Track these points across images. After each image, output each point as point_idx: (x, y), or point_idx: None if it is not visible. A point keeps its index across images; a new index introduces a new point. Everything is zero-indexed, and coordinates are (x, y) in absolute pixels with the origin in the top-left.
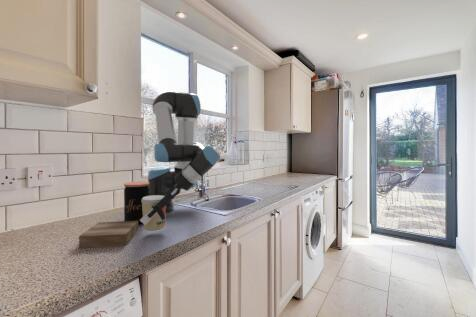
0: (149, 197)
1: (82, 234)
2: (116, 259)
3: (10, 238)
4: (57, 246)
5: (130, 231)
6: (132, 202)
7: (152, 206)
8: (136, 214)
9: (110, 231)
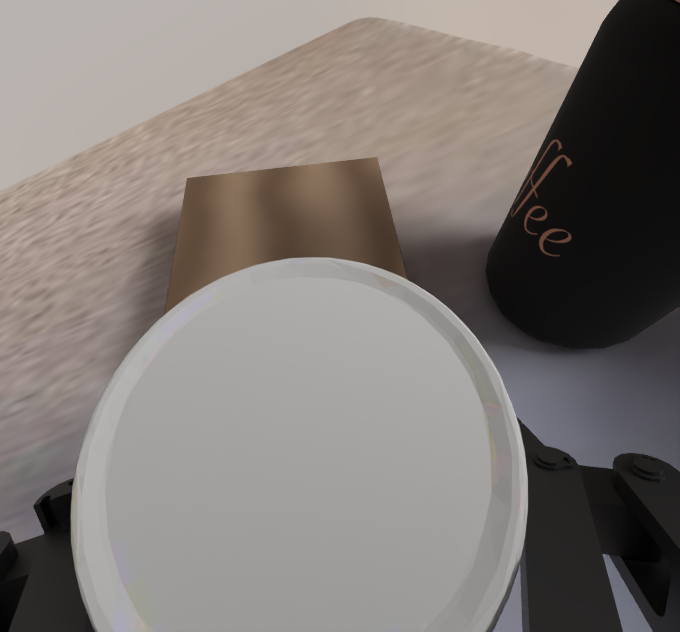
0: (326, 336)
1: (206, 179)
2: (33, 401)
3: (316, 45)
4: (234, 157)
5: None
6: (548, 172)
7: (46, 503)
8: (517, 267)
9: (224, 259)
